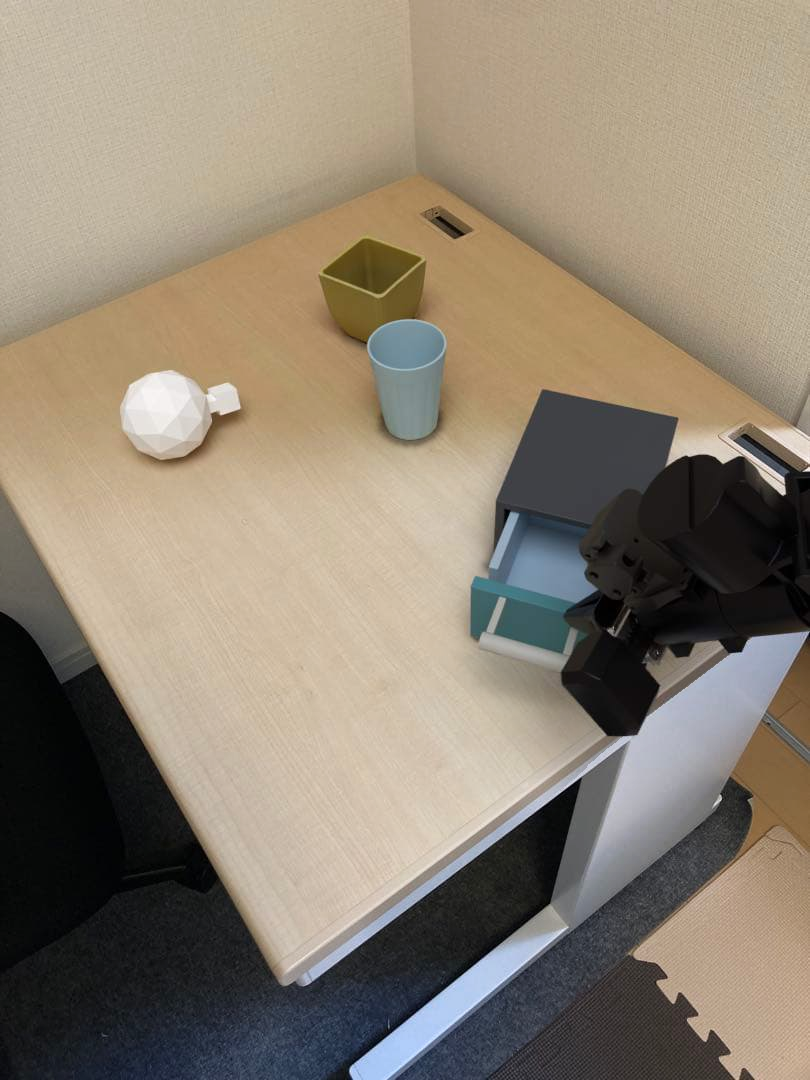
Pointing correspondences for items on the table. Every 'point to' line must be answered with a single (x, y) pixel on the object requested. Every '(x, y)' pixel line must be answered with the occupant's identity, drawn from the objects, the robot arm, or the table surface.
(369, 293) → the flower pot
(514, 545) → the teal drawer
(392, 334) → the cup
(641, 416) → the drawer cabinet
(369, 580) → the table surface
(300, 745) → the table surface
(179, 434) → the perfume bottle
